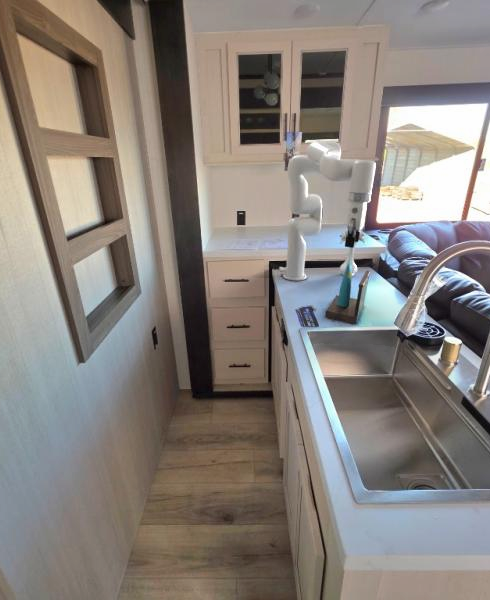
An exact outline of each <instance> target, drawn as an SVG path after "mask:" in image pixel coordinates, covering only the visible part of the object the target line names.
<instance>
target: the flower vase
mask: <svg viewBox="0 0 490 600" xmlns="http://www.w3.org/2000/svg"><path fill="white" fill-rule="evenodd" d="M347 232H348V230H347V228H345V229H344V231H343V232H342V233H341V234H340V235H339V238H340V239H339V245H341V244H342V243H343V242H345V241H346V236H347ZM365 239H366V237H365V233H363V231H360V235H359V241H360V242H362V243H363V244H364V245H366V241H365ZM359 241H358V242H359ZM358 242H355V243H354V247H353V248H350V247H348V250H347V255H346V256H347V257H346V259H345V260H344V262H343V263H342V264H341V265H340V266H339V271H340V272H341V275H342V276H343V275H344V272H345V269H346V267H347V264H348V262H349V260H350V259H351V267H352V277H354V275H355V274H356V273H357V272H358V269H359V268H358V267H357V265H356V263H355V260H354V255H355V248H356V245H357V243H358Z"/></svg>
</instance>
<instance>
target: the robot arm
mask: <svg viewBox="0 0 490 600" xmlns="http://www.w3.org/2000/svg"><path fill="white" fill-rule="evenodd" d="M341 155H342V148H341V145H340V144H339V142H337V141H334V140H316V141H312V142H311V143H310V144H309V145H308V147H307V148H306V154H298V155H294V156H292V157H291V158H290V159H289V161H288V165H287V177H288V181H289V193H290V194H289V209H290V212H291V213H292V214H294V215H309V216H296V217H292V218H290V219H289V220H288V221H287V223H286V232H287V251H286V252H287V253H286V266H285V267H283V266H279V268H278V271H279V272H281V273H282V277H283V279H285V280H289V281H294V282H298V281H303V280H305V279H307V274H306V273H305V266H306V265H305V264H306V263H305V262H306V253H307V243H306V241H305V239H304V237H311V236H317V235H318V234H320V232H321V229H322V217H323V202H322V198H321V196H320V195H319V194H315V193H309V184H308V181H307V179H306V178H305V176H307V175H308V176H313V175H314V176H317V175H318V176H319V175H321V176H322V177H324V178H325V179H327V180H329V181H331V182H350V183H349V190H348V197H347V202H348V203H350V204H349V208H348V214H347V220H346V229H347V231H348V232H347V236H346V241H344V247H345V248H349V247H350V248H353V247H354V243H355V242H357V243H358V242H359V235H360V234H361V231H362V229H363V228H364V227H365V222H366V221H365V220H366V214H367V204H369V203H370V202H371V197H372V190H373V185H374V179H375V174H376V167H377V164H376V162H375V160H373V159H372V160H369V159H359V158H358V159H357V158H341Z"/></svg>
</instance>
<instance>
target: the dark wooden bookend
mask: <svg viewBox="0 0 490 600" xmlns="http://www.w3.org/2000/svg"><path fill="white" fill-rule="evenodd" d="M370 275H371V270H365V272H364V274H363V276H362V278H361V280H360V282H359V284H358V291H357V295H356V296H357V298H354V297H350V303H349V306H347V307H342V306H339V305H337V301H338V296H339V294H336V295H335V296H334V298H333V299H332V301H331V303H329V306H328V307H327V309H326V310H325V314H324V317H325V318H327V319H331V320H336V321H339V322H340V321H341V322H345V323H348V324H349V323H350V324H355V325H356V324H357V323H358V321H359V319H360V317H361V314H362V311H363V309H364V305H365V301H366V295H367V289H368V283H369V278H370Z"/></svg>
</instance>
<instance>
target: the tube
mask: <svg viewBox="0 0 490 600" xmlns="http://www.w3.org/2000/svg"><path fill="white" fill-rule="evenodd" d="M352 278H353V276H352V267H351V259H350V260H349V262H348V264H347V267H346V269H345V272H344V275H342V278H341V283H340V287H339V292H338V301H337V305H339V306H342V307H347V306H349V303H350V298H351V293H352Z"/></svg>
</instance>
